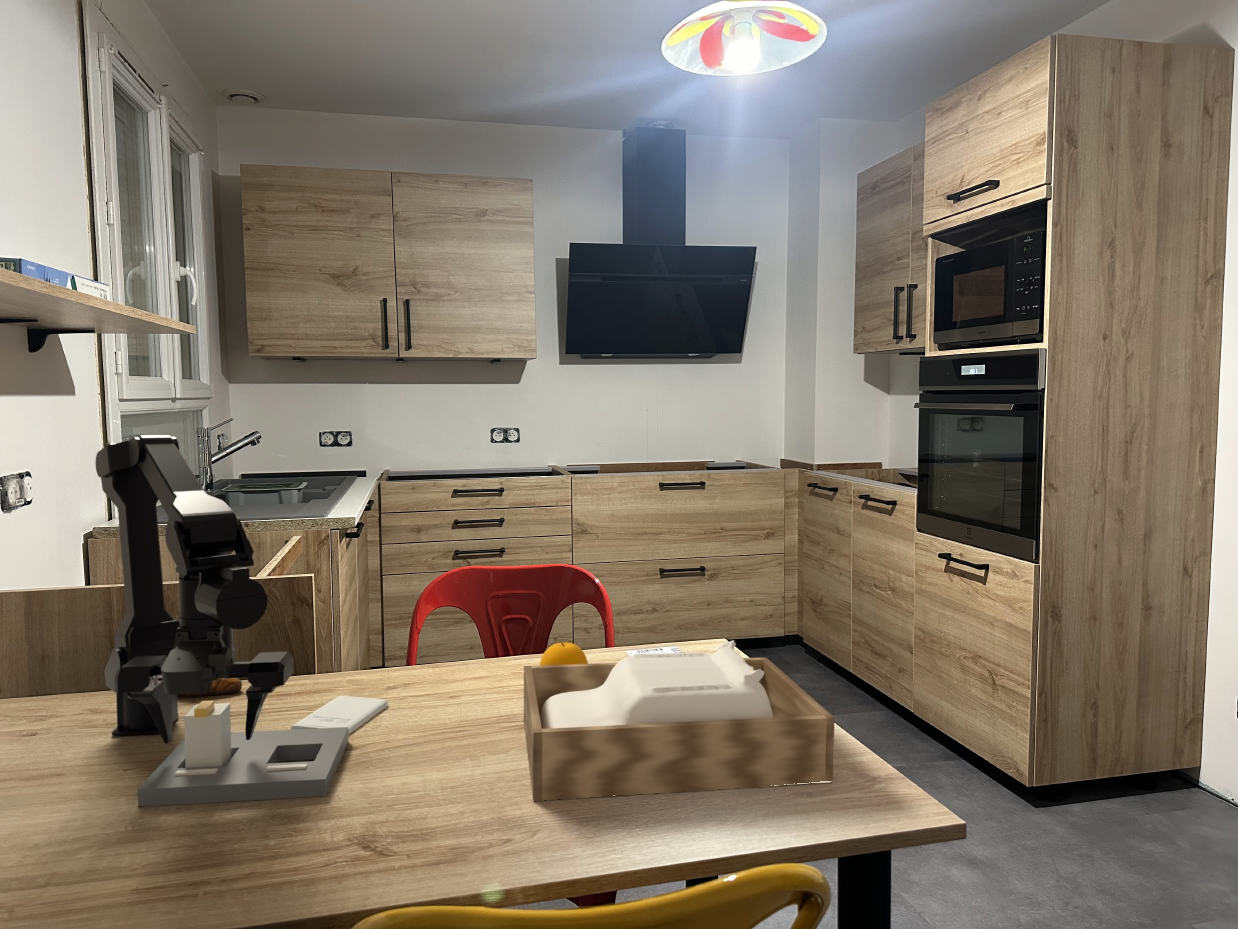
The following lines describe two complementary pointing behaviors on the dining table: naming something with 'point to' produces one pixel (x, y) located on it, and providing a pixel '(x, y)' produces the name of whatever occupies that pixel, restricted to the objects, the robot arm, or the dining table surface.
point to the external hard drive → (343, 713)
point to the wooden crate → (674, 743)
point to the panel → (252, 769)
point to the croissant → (219, 687)
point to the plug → (208, 735)
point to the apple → (563, 655)
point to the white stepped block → (665, 692)
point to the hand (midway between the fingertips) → (208, 741)
